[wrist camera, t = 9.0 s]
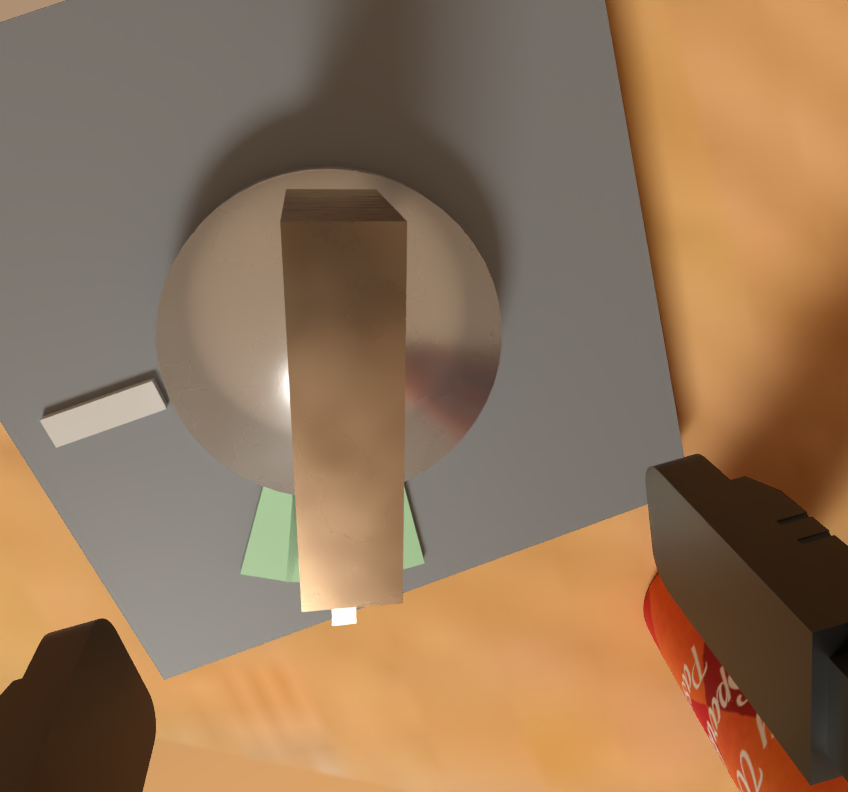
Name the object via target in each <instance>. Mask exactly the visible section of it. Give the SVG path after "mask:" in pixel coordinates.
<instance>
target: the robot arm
mask: <svg viewBox="0 0 848 792" xmlns="http://www.w3.org/2000/svg"><path fill="white" fill-rule="evenodd" d="M645 480H646V491H647V501H648V510H649V520H650V529H651V539H652V548H653V555H654V559H655V563H656V566H657V569H658V572H659V575H660V577H661V579H662V582H663V584H664V586H665V587H666V589H667V591H668V592H669V594H670V595H671V597H672V598H673V599H674V601H675V602H676V603H677V605H678V606H679V608H680V609H681V610H682V612H683V613H684V614H685V616H686V617H687V618H688V620H689V621H690V623H691V624H692V625H693V627H694V628H695V629H696V631H697V632H698V633H699V635H700V636H701V637H702V639H703V640H704V642H705V643H706V644H707V646H708V647H709V648H710V650H711V651H712V652H713V654H714V655H715V657H716V658H717V659H718V661H719V662H720V663H721V665H722V666H723V667H724V669H725V670H726V672H727V673H728V674H729V676H730V677H731V678H732V680H733V681H734V682H735V684H736V685H737V686H738V688H739V689H740V691H741V692H742V693H743V695H744V696H745V697H746V699H747V700H748V701H749V703H750V704H751V706H752V707H753V708H754V710H755V711H756V712H757V714H758V715H759V716H760V718H761V719H762V720H763V722H764V723H765V725H766V726H767V727H768V729H769V730H770V731H771V733H772V734H773V735H774V737H775V738H776V740H777V741H778V742H779V744H780V745H781V746H782V748H783V749H784V750H785V752H786V753H787V755H788V756H789V757H790V759H791V760H792V761H793V763H794V764H795V765H796V767H797V768H798V769H799V771H800V772H801V774H802V775H803V776H804V778H805V779H806V780H807V782H808V783H809V784H810V786H812V785H815V784H818V783H821V782H825V781H828V780H831V779H834V778H838V777H841V776H843V777H844V778H845V780H846V781H847V782H848V546H847V545H846V544H845V543H844V542H842V541H841V540H840V539H839V538H838V537H836V536H835V535H833V536H831V535H830V533H829V530H828V529H827V528H825V527H824V526H823V525H822V524H820V523H819V522H818V521H817V520H816V519H814V518H813V517H808V515H807V512H806V511H805V510H803V509H802V508H801V507H800V506H799V505H797V504H796V503H795V502H794V501H793V500H791V499H790V498H789V497H788V496H786V495H785V494H784V493H783V492H782V491H780V490H778V489H775V488H773V487H770V486H768V485H765V484H763V483H760V482H758V481H755V480H753V479H750V478H748V477H745V476H744V477H741V478H737V479H734V480H730V479H728V478H727V477H726V476H725V475H724V474H723V473H722V472H721V471H720V470H718V469H717V468H716V467H715V466H714V465H713V464H712V463H711V462H709V461H708V460H707V459H706V458H705V457H704V456H702V455H700V454H694V455H691V456H687V457H683V458H680V459H676V460H673V461H669V462H665V463H662V464H658V465H655V466H651V467H649V468H648V469H647V471H646V477H645ZM155 734H156V718H155V711H154V706H153V702H152V699H151V696H150V694H149V692H148V690H147V688H146V686H145V684H144V682H143V680H142V679H141V677H140V675H139V673H138V671H137V669H136V667H135V665H134V663H133V661H132V660H131V658H130V656H129V654H128V652H127V650H126V648H125V646H124V644H123V643H122V641H121V639H120V637H119V635H118V633H117V631H116V630H115V628H114V626H113V625H112V624H111V623H110V622H109V621H108V620H106V619H102V618H101V619H98V620H94V621H90V622H87V623H83V624H80V625H76V626H73V627H69V628H65V629H62V630H58V631H55V632H51V633H48V634H47V635H45V636H44V637H43V639H42V640H41V642H40V644H39V646H38V648H37V650H36V652H35V654H34V656H33V658H32V660H31V662H30V664H29V666H28V668H27V670H26V672H25V674H24V676H23V678H22V679H18V680H15V681H13V682H12V683H11V684H10V685H9V686H8V687H7V688H6V689H5V691H4V692H3V693H2V694H1V695H0V792H142V791H143V787H144V783H145V778H146V774H147V771H148V766H149V761H150V758H151V754H152V750H153V746H154V741H155Z"/></svg>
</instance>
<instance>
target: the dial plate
mask: <svg viewBox="0 0 848 792" xmlns="http://www.w3.org/2000/svg"><path fill="white" fill-rule="evenodd" d="M312 166H341V167H353V168H357V169H362V170H367V171H371V172H375V173H378V174H381V175H383V176H386V177H389V178H392V179H394V180H397V181H399V182H400V183H402V184H404V185H406V186H408V187H410V188H412V189H414V190H416V191H417V192H418V193H420V194H421V195H423V196H424V197H426V198H427V199H428V200H430V201H431V202H433V203H434V204H435V205H437V206H438V207H440V208H441V209H442V210H444V211H445V212H446V213H447V214H448V215H449V216H450V217H451V218H452V219H453V220H454V221H455V222H456V223H457V224H458V225H459V226H460V227H461V228H462V229H463V231H464V232H465V233H466V234H467V236H468V237H469V238H470V239H471V241H472V242H473V243H474V245H475V246H476V248H477V250H478V251H479V253H480V255H481V256H482V258H483V260H484V261H485V263H486V266H487V268H488V270H489V273H490V275H491V277H492V280H493V282H494V286H495V290H496V293H497V297H498V300H499V306H500V313H501V321H502V347H501V354H500V362H499V367H498V371H497V374H496V378H495V382H494V385H493V387H492V390H491V392H490V395H489V397H488V400H487V402H486V404H485V406H484V408H483V409H482V411H481V413H480V415H479V416H478V418H477V420H476V421H475V423H474V424H473V425H472V427H471V428H470V429H469V431H468V432H467V434H466V435H465V436H464V437H463V438H462V439H461V440H460V442H459V443H458V444H457V445H456V446H455V447H454V448H453V449H452V450H451V451H450V452H449V453H448V454H446V455H445V456H444V457H443V458H442V459H440V460H439V461H438V462H437V463H436V464H434V465H433V466H431V467H430V468H428V469H426V470H425V471H423V472H422V473H420V474H419V475H417V476H415V477H413V478H411V479H409V480H407V481H405V482H404V538H403V593H404V592H407V591H410V590H413V589H415V588H418V587H421V586H424V585H426V584H429V583H432V582H435V581H437V580H440V579H443V578H446V577H448V576H451V575H454V574H457V573H459V572H462V571H465V570H468V569H470V568H473V567H476V566H479V565H481V564H484V563H487V562H490V561H492V560H495V559H498V558H501V557H503V556H506V555H509V554H512V553H514V552H517V551H520V550H523V549H525V548H528V547H531V546H534V545H536V544H539V543H542V542H545V541H547V540H550V539H553V538H556V537H558V536H561V535H564V534H567V533H569V532H572V531H575V530H578V529H580V528H583V527H586V526H589V525H591V524H594V523H597V522H600V521H602V520H605V519H608V518H611V517H613V516H616V515H619V514H622V513H624V512H627V511H630V510H633V509H635V508H638V507H641V506H644V505H646V504H648V501H647V491H646V480H645V477H646V471H647V469H648V468H649V467H651V466H655V465H658V464H662V463H665V462H669V461H673V460H676V459H680V458H683V457H684V453H683V447H682V442H681V436H680V430H679V424H678V419H677V413H676V407H675V401H674V395H673V390H672V384H671V378H670V372H669V367H668V361H667V355H666V349H665V343H664V338H663V332H662V326H661V320H660V315H659V309H658V303H657V297H656V292H655V286H654V280H653V274H652V268H651V263H650V257H649V251H648V245H647V240H646V234H645V228H644V222H643V217H642V211H641V205H640V199H639V193H638V188H637V182H636V176H635V170H634V165H633V159H632V153H631V147H630V141H629V136H628V130H627V124H626V118H625V113H624V107H623V101H622V95H621V90H620V84H619V78H618V72H617V66H616V61H615V55H614V49H613V43H612V38H611V32H610V26H609V20H608V15H607V9H606V3H605V0H66V1H63V2H60V3H57V4H54V5H51V6H49V7H45V8H42V9H39V10H36V11H33V12H30V13H27V14H24V15H21V16H18V17H15V18H12V19H9V20H6V21H3V22H0V422H1V423H2V425H3V426H4V428H5V429H6V431H7V433H8V434H9V436H10V437H11V439H12V440H13V442H14V444H15V445H16V447H17V448H18V450H19V452H20V453H21V455H22V456H23V458H24V459H25V461H26V463H27V464H28V466H29V467H30V469H31V470H32V472H33V474H34V475H35V477H36V478H37V480H38V482H39V483H40V485H41V486H42V488H43V489H44V491H45V493H46V494H47V496H48V497H49V499H50V500H51V502H52V504H53V505H54V507H55V508H56V510H57V511H58V513H59V515H60V516H61V518H62V519H63V521H64V523H65V524H66V526H67V527H68V529H69V530H70V532H71V534H72V535H73V537H74V538H75V540H76V541H77V543H78V545H79V546H80V548H81V549H82V551H83V552H84V554H85V556H86V557H87V559H88V560H89V562H90V564H91V565H92V567H93V568H94V570H95V571H96V573H97V575H98V576H99V578H100V579H101V581H102V582H103V584H104V586H105V587H106V589H107V590H108V592H109V594H110V595H111V597H112V598H113V600H114V601H115V603H116V605H117V606H118V608H119V609H120V611H121V612H122V614H123V616H124V617H125V619H126V620H127V622H128V623H129V625H130V627H131V628H132V630H133V631H134V633H135V635H136V636H137V638H138V639H139V641H140V642H141V644H142V646H143V647H144V649H145V650H146V652H147V653H148V655H149V657H150V658H151V660H152V661H153V663H154V665H155V666H156V668H157V669H158V671H159V672H160V674H161V676H162V677H163V679H164V680H165V679H168V678H171V677H173V676H176V675H179V674H182V673H184V672H187V671H190V670H193V669H195V668H198V667H201V666H204V665H206V664H209V663H212V662H215V661H217V660H220V659H223V658H226V657H228V656H231V655H234V654H237V653H239V652H242V651H245V650H248V649H250V648H253V647H256V646H259V645H261V644H264V643H267V642H270V641H272V640H275V639H278V638H281V637H283V636H286V635H289V634H292V633H294V632H297V631H300V630H303V629H305V628H308V627H311V626H314V625H316V624H319V623H322V622H325V621H327V620H330V619H332V614H331V610H319V611H308V612H302V611H301V593H300V574H299V556H298V538H297V520H296V501H295V495H291V494H287V493H282V492H278V491H275V490H272V489H270V488H267V487H264V486H261V485H258V484H256V483H254V482H252V481H250V480H248V479H246V478H244V477H242V476H240V475H238V474H237V473H235V472H234V471H232V470H231V469H229V468H228V467H226V466H225V465H223V464H222V463H220V462H219V461H218V460H217V459H216V458H214V457H213V456H212V455H211V454H210V453H209V452H207V451H206V450H205V449H204V448H203V447H202V446H201V444H200V443H199V442H198V441H197V440H196V439H195V438H194V437H193V436H192V435H191V433H190V432H189V431H188V429H187V428H186V426H185V425H184V423H183V422H182V420H181V419H180V418H179V416H178V414H177V412H176V410H175V408H174V406H173V405H172V403H171V401H170V399H169V397H168V394H167V391H166V388H165V385H164V383H163V380H162V377H161V372H160V367H159V362H158V357H157V347H156V322H157V311H158V306H159V302H160V297H161V293H162V289H163V286H164V283H165V281H166V278H167V276H168V273H169V271H170V268H171V266H172V264H173V262H174V260H175V259H176V257H177V255H178V254H179V252H180V250H181V248H182V247H183V245H184V244H185V242H186V241H187V240H188V239H189V237H190V236H191V235H192V234H193V232H194V231H195V230H196V229H197V227H198V226H199V225H200V224H201V223H202V222H203V220H204V219H205V218H206V217H207V216H208V215H209V214H210V213H211V212H213V211H214V210H215V209H216V208H217V207H218V206H219V205H220V204H221V203H222V202H224V201H225V200H226V199H228V198H229V197H231V196H232V195H233V194H235V193H236V192H238V191H239V190H241V189H243V188H244V187H246V186H248V185H250V184H252V183H254V182H256V181H258V180H260V179H262V178H265V177H268V176H271V175H274V174H277V173H280V172H283V171H287V170H293V169H298V168H303V167H312ZM365 607H366V606H365ZM360 608H363V607H356V610H358V609H360Z"/></svg>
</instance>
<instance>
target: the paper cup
mask: <svg viewBox="0 0 848 792" xmlns="http://www.w3.org/2000/svg"><path fill="white" fill-rule="evenodd" d="M644 618H645V621H646V624H647V627H648V629H649V631H650V633H651V635H652V637H653V639H654V641H655V643H656V645H657V646H658V648H659V650H660V652H661V654H662V656H663V657H664V659H665V661H666V663H667V665H668V666H669V668H670V670H671V672H672V674H673V675H674V677H675V679H676V681H677V682H678V684H679V686H680V688H681V690H682V691H683V693H684V695H685V697H686V698H687V700H688V702H689V704H690V705H691V707H692V709H693V711H694V712H695V714H696V716H697V718H698V719H699V721H700V723H701V725H702V726H703V728H704V730H705V732H706V733H707V735H708V737H709V739H710V740H711V742H712V744H713V746H714V747H715V749H716V751H717V753H718V754H719V756H720V758H721V760H722V761H723V763H724V765H725V767H726V768H727V770H728V772H729V774H730V775H731V777H732V779H733V781H734V782H735V784H736V786H737V787H738V789H739V791H740V792H848V782H847V781H846V780H845V778H844V777H843V776H841V777H838V778H834V779H831V780H828V781H825V782H821V783H818V784H815V785H812V786H810V784H809V783H808V782H807V780H806V779H805V778H804V776H803V775H802V774H801V772H800V771H799V769H798V768H797V767H796V765H795V764H794V763H793V761H792V760H791V759H790V757H789V756H788V755H787V753H786V752H785V750H784V749H783V748H782V746H781V745H780V744H779V742H778V741H777V740H776V738H775V737H774V735H773V734H772V733H771V731H770V730H769V729H768V727H767V726H766V725H765V723H764V722H763V720H762V719H761V718H760V716H759V715H758V714H757V712H756V711H755V710H754V708H753V707H752V706H751V704H750V703H749V701H748V700H747V699H746V697H745V696H744V695H743V693H742V692H741V691H740V689H739V688H738V686H737V685H736V684H735V682H734V681H733V680H732V678H731V677H730V676H729V674H728V673H727V672H726V670H725V669H724V667H723V666H722V665H721V663H720V662H719V661H718V659H717V658H716V657H715V655H714V654H713V652H712V651H711V650H710V648H709V647H708V646H707V644H706V643H705V642H704V640H703V639H702V637H701V636H700V635H699V633H698V632H697V631H696V629H695V628H694V627H693V625H692V624H691V623H690V621H689V620H688V618H687V617H686V616H685V614H684V613H683V612H682V610H681V609H680V608H679V606H678V605H677V603H676V602H675V601H674V599H673V598H672V597H671V595H670V594H669V592H668V591H667V589H666V587H665V586H664V584H663V582H662V579H661V577H660V575H659V573H658V574H657V576H656V577H655V578H654V580H653V581H652V583H651V585H650V587H649V589H648V591H647V593H646V596H645V600H644Z"/></svg>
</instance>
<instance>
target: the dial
mask: <svg viewBox="0 0 848 792" xmlns="http://www.w3.org/2000/svg"><path fill="white" fill-rule="evenodd" d="M156 347H157V357H158V362H159V367H160V372H161V377H162V380H163V383H164V385H165V388H166V391H167V394H168V397H169V399H170V401H171V403H172V405H173V406H174V408H175V410H176V412H177V414H178V416H179V418H180V419H181V420H182V422H183V423H184V425H185V426H186V428H187V429H188V431H189V432H190V433H191V435H192V436H193V437H194V438H195V439H196V440H197V441H198V442H199V443H200V444H201V446H202V447H203V448H204V449H205V450H206V451H207V452H209V453H210V454H211V455H212V456H213V457H214V458H216V459H217V460H218V461H219V462H220V463H222V464H223V465H225V466H226V467H228V468H229V469H231V470H232V471H234V472H235V473H237V474H238V475H240V476H242V477H244V478H246V479H248V480H250V481H252V482H254V483H256V484H258V485H261V486H264V487H267V488H270V489H272V490H275V491H278V492H282V493H287V494H291V495H295V501H296V520H297V538H298V556H299V574H300V593H301V611H302V612H308V611H319V610H331V614H332V626H333V625H344V624H355V623H356V607H365V606H376V605H387V604H398V603H403V538H404V482H405V481H407V480H409V479H411V478H413V477H415V476H417V475H419V474H420V473H422V472H423V471H425V470H426V469H428V468H430V467H431V466H433V465H434V464H436V463H437V462H438V461H439V460H440V459H442V458H443V457H444V456H445V455H446V454H448V453H449V452H450V451H451V450H452V449H453V448H454V447H455V446H456V445H457V444H458V443H459V442H460V440H461V439H462V438H463V437H464V436H465V435H466V434H467V432H468V431H469V429H470V428H471V427H472V425H473V424H474V423H475V421H476V420H477V418H478V416H479V415H480V413H481V411H482V409H483V408H484V406H485V404H486V402H487V400H488V397H489V395H490V392H491V390H492V387H493V385H494V382H495V378H496V374H497V371H498V367H499V362H500V354H501V347H502V321H501V313H500V306H499V300H498V297H497V293H496V290H495V286H494V282H493V280H492V277H491V275H490V273H489V270H488V268H487V266H486V263H485V261H484V260H483V258H482V256H481V255H480V253H479V251H478V250H477V248H476V246H475V245H474V243H473V242H472V241H471V239H470V238H469V237H468V236H467V234H466V233H465V232H464V231H463V229H462V228H461V227H460V226H459V225H458V224H457V223H456V222H455V221H454V220H453V219H452V218H451V217H450V216H449V215H448V214H447V213H446V212H445V211H444V210H442V209H441V208H440V207H438V206H437V205H435V204H434V203H433V202H431V201H430V200H428V199H427V198H426V197H424V196H423V195H421V194H420V193H418V192H417V191H416V190H414V189H412V188H410V187H408V186H406V185H404V184H402V183H400V182H399V181H397V180H394V179H392V178H389V177H386V176H383V175H381V174H378V173H375V172H371V171H367V170H362V169H357V168H353V167H341V166H312V167H303V168H298V169H293V170H287V171H283V172H280V173H277V174H274V175H271V176H268V177H265V178H262V179H260V180H258V181H256V182H254V183H252V184H250V185H248V186H246V187H244V188H243V189H241V190H239V191H238V192H236V193H235V194H233V195H232V196H231V197H229V198H228V199H226V200H225V201H224V202H222V203H221V204H220V205H219V206H218V207H217V208H216V209H215V210H214V211H213V212H211V213H210V214H209V215H208V216H207V217H206V218H205V219H204V220H203V222H202V223H201V224H200V225H199V226H198V227H197V229H196V230H195V231H194V232H193V234H192V235H191V236H190V237H189V239H188V240H187V241H186V242H185V244H184V245H183V247H182V248H181V250H180V252H179V254H178V255H177V257H176V259H175V260H174V262H173V264H172V266H171V268H170V271H169V273H168V276H167V278H166V281H165V283H164V286H163V289H162V293H161V297H160V302H159V306H158V311H157V322H156Z"/></svg>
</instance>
